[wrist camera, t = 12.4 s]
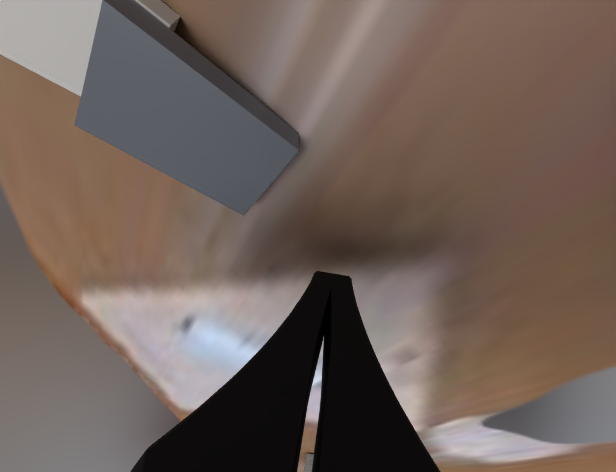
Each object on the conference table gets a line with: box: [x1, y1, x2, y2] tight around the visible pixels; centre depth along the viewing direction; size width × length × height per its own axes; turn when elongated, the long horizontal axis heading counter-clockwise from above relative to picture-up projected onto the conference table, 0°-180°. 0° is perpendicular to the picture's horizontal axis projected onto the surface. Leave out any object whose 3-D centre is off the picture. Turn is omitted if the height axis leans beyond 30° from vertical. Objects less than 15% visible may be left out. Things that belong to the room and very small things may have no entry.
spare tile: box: [75, 0, 299, 215], centre depth 10 cm, size 2×4×7 cm
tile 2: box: [0, 0, 180, 96], centre depth 9 cm, size 2×4×7 cm
